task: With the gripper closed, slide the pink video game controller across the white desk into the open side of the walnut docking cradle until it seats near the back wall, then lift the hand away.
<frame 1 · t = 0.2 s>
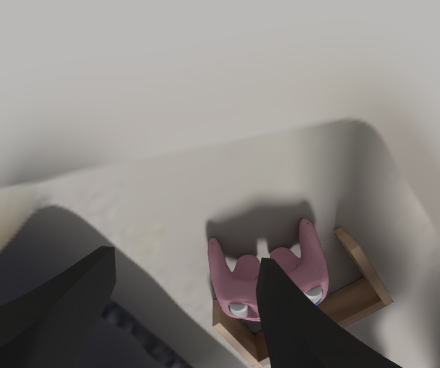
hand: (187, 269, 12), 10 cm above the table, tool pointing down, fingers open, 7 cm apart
video game controller: (261, 249, 24), on the table
docking cradle: (291, 288, 25), on the table
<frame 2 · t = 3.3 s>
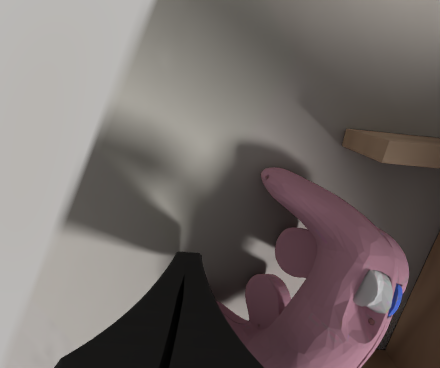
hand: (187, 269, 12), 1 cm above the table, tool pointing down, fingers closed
video game controller: (266, 252, 14), on the table, touching gripper
docking cradle: (371, 265, 14), on the table
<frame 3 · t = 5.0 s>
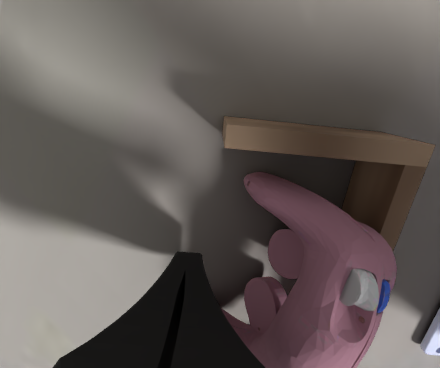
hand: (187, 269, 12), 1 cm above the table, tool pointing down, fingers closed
video game controller: (261, 255, 14), on the table, touching gripper
docking cradle: (273, 258, 14), on the table
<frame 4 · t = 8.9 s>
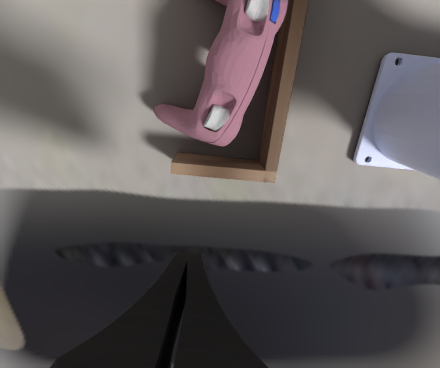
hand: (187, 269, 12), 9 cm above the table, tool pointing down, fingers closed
video game controller: (213, 65, 18), on the table
docking cradle: (230, 67, 18), on the table
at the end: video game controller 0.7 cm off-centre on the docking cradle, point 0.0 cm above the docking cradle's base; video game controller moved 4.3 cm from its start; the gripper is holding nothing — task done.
